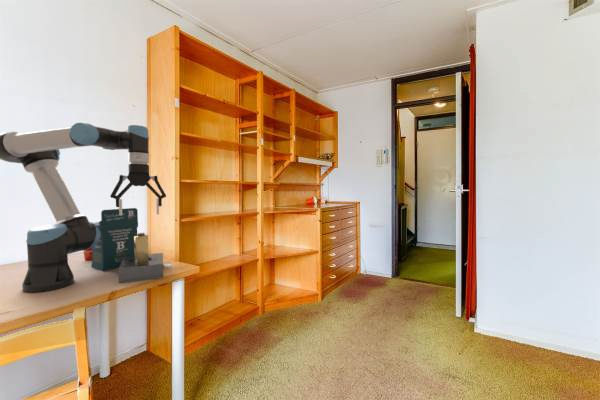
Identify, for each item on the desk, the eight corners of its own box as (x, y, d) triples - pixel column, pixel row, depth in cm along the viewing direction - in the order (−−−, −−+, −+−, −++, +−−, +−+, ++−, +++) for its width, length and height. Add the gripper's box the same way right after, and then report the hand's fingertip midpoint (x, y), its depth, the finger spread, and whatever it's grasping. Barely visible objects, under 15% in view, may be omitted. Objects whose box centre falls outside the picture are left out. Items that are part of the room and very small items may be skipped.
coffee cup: (78, 260, 150) (77, 231, 150) (93, 256, 158) (92, 229, 157) (90, 261, 148) (89, 232, 147) (105, 257, 156) (104, 230, 155)
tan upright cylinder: (134, 266, 118) (133, 234, 118) (135, 263, 123) (134, 232, 123) (148, 264, 121) (147, 233, 120) (149, 261, 125) (148, 232, 125)
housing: (118, 283, 116) (118, 268, 115) (125, 268, 136) (124, 256, 135) (163, 277, 123) (162, 263, 122) (163, 265, 142) (162, 252, 142)
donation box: (102, 271, 131) (101, 210, 130) (87, 266, 140) (85, 208, 139) (139, 263, 145) (137, 207, 143) (122, 259, 154) (121, 206, 152)
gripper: (101, 161, 112) (102, 216, 113) (171, 164, 122) (172, 214, 123) (104, 163, 118) (105, 214, 119) (171, 165, 129) (172, 212, 130)
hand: (139, 214), depth 121 cm, fingers open, 13 cm apart
